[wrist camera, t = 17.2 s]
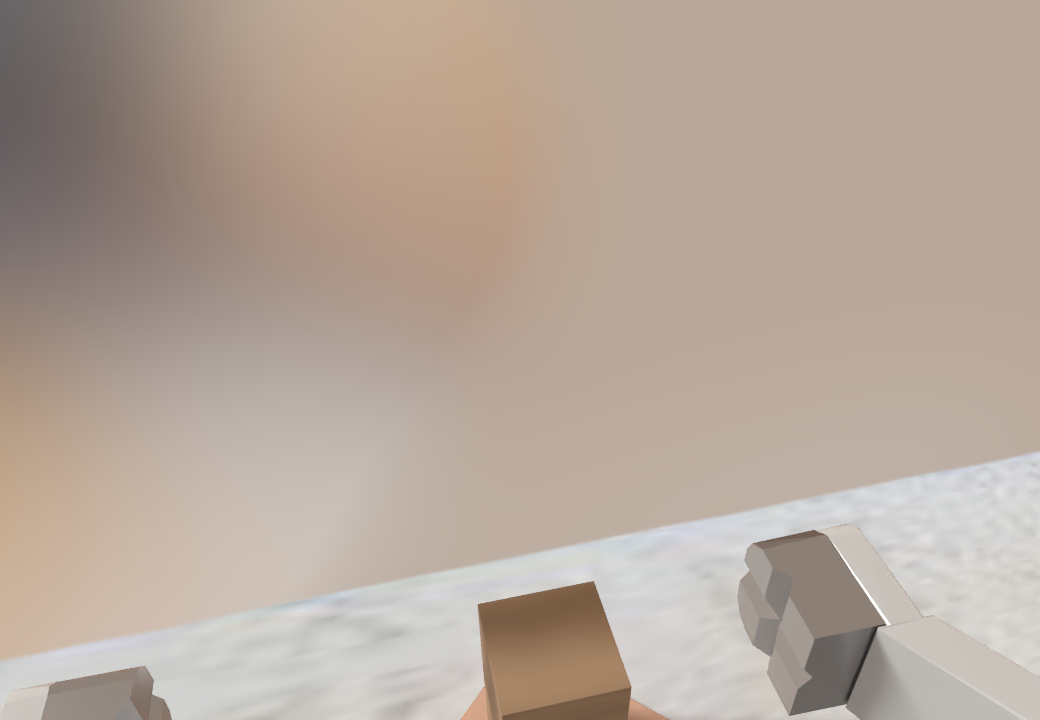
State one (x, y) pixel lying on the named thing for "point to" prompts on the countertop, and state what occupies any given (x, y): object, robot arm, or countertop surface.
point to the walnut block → (552, 658)
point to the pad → (637, 716)
